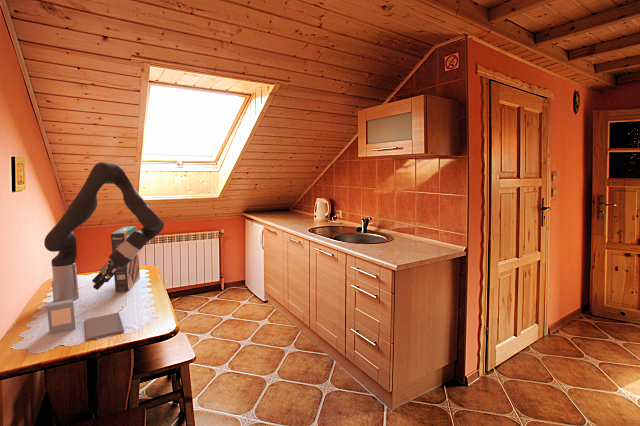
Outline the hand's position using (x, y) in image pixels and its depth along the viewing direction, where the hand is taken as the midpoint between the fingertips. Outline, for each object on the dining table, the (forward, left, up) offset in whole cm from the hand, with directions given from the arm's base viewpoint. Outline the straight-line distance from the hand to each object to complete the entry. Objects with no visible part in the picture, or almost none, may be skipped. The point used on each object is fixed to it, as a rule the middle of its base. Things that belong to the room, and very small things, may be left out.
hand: (94, 285), depth 142 cm
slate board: (+5, -3, -15) cm, 17 cm away
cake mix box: (-17, +45, -16) cm, 51 cm away
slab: (-9, -7, -16) cm, 19 cm away
